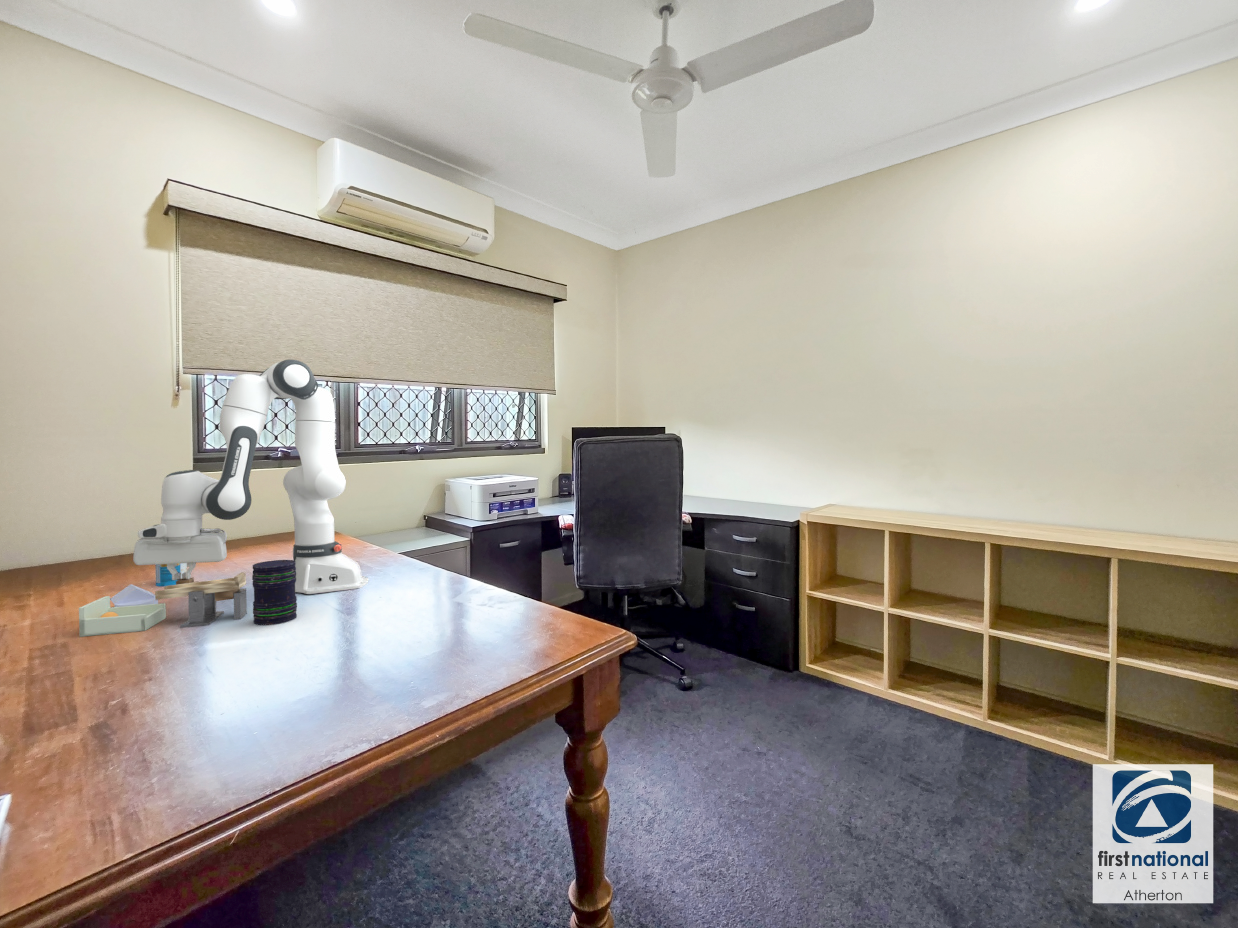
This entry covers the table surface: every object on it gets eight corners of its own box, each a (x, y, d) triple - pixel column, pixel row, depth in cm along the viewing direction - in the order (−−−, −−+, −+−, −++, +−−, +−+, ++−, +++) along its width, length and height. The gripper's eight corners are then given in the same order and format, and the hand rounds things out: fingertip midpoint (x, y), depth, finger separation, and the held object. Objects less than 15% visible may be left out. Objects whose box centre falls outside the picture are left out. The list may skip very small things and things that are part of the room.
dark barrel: (275, 626, 137) (274, 568, 136) (243, 624, 139) (242, 566, 138) (306, 614, 146) (305, 560, 146) (275, 612, 148) (274, 559, 148)
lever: (257, 585, 156) (255, 565, 156) (239, 598, 142) (237, 576, 142) (182, 594, 151) (180, 574, 150) (156, 609, 136) (154, 586, 136)
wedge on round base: (109, 610, 151) (117, 620, 142) (109, 587, 151) (116, 594, 142) (151, 603, 158) (161, 612, 149) (151, 581, 157) (161, 588, 149)
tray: (165, 617, 144) (165, 591, 144) (145, 630, 134) (144, 602, 134) (105, 623, 140) (105, 596, 140) (79, 636, 130) (78, 607, 129)
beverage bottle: (148, 588, 176) (147, 527, 175) (176, 582, 184) (175, 524, 183) (167, 590, 173) (165, 528, 173) (194, 584, 181) (193, 524, 181)
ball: (115, 607, 138) (100, 615, 137) (107, 611, 134) (92, 620, 133) (125, 618, 138) (110, 626, 137) (117, 622, 135) (102, 631, 134)
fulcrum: (250, 610, 150) (249, 580, 150) (236, 622, 140) (236, 589, 140) (198, 615, 146) (197, 583, 146) (180, 627, 136) (179, 593, 136)
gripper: (230, 526, 154) (230, 574, 154) (142, 528, 148) (142, 579, 148) (222, 529, 148) (222, 579, 148) (130, 531, 142) (129, 584, 142)
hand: (181, 579), depth 148 cm, fingers closed
